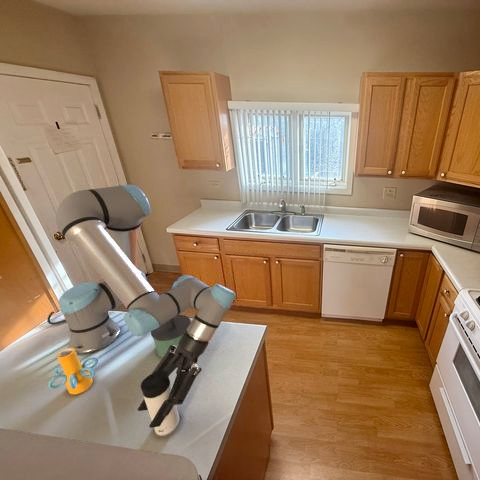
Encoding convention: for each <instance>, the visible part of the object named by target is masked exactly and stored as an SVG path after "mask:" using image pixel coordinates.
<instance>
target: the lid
mask: <svg viewBox="0 0 480 480" xmlns="http://www.w3.org/2000/svg"><path fill="white" fill-rule="evenodd" d="M191 321H192V320H191V318H190V317H189V316H187V315H185V314H179V315H177V316H175V317H174V318H172V319H170V320H169V321H167V322H166V323H164V324H163V325H161V326H160V327H159V328H157V329H155V330H153V331H151V332H150V335H151V338H152V339H153V338H154V339H155V340H159V341H167V340H172V339H175V338H177V337H180V336H181V335H183V334H184V333H185V332H187V328H188V326H189V325H190V323H191ZM154 339H153V340H154Z"/></svg>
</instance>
